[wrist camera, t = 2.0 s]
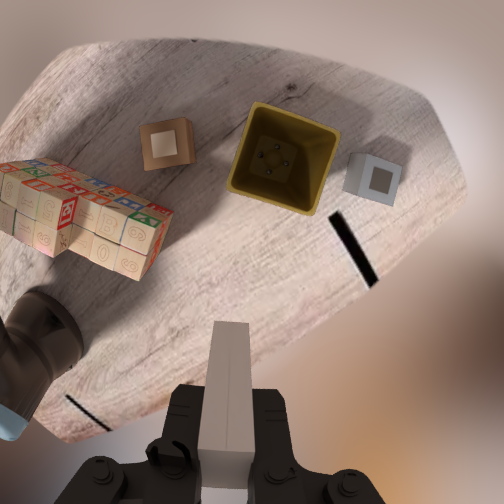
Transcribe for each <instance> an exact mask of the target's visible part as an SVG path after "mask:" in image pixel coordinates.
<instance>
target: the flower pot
mask: <svg viewBox="0 0 504 504" xmlns="http://www.w3.org/2000/svg"><path fill="white" fill-rule="evenodd" d="M340 138H341V133H340V132H339V131H338V130H336V129H333V128H331V127H328V126H326V125H323V124H321V123H318V122H316V121H313V120H310V119H308V118H305V117H302V116H300V115H297V114H294V113H292V112H289V111H286V110H283V109H280V108H278V107H275V106H272V105H269V104H266V103H262V102H258V101H256V102H254V103H253V104H252V106H251V109H250V112H249V115H248V119H247V122H246V125H245V128H244V131H243V134H242V137H241V140H240V143H239V145H238V149H237V152H236V155H235V158H234V161H233V164H232V166H231V169H230V172H229V175H228V179H227V182H226V189H227V190H228V191H230V192H233V193H236V194H239V195H243V196H246V197H250V198H253V199H257V200H260V201H263V202H266V203H270V204H273V205H276V206H279V207H282V208H285V209H288V210H291V211H294V212H297V213H300V214H303V215H306V216H313V215H314V214H315V212H316V209H317V206H318V203H319V200H320V196H321V193H322V190H323V187H324V184H325V181H326V178H327V175H328V172H329V169H330V167H331V164H332V161H333V159H334V156H335V153H336V150H337V147H338V145H339V142H340ZM277 144H278V145H279V146H280V148H279V149H276V148H275V146H276V145H277ZM259 153H262V154H263V156H262V157H259V156H258V154H259ZM285 161H287V162H288V165H287V166H285V165H284V162H285ZM269 169H270V170H271V174H268V173H267V170H269Z"/></svg>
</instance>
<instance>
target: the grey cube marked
mask: <svg viewBox="0 0 504 504" xmlns="http://www.w3.org/2000/svg"><path fill="white" fill-rule="evenodd" d="M402 168H403V167H402V166H400V165H397V164H395V163H392V162H389V161H387V160H384V159H381V158H379V157H376V156H373V155H370V154H367V153H351V155H350V160H349V164H348V168H347V173H346V177H345V181H344V185H343V189H342V190H343V191H345V192H348V193H351V194H353V195H356V196H359V197H362V198H366V199H369V200H373V201H376V202H379V203H382V204H386V205H389V206H392V207H393V204H394V200H395V197H396V193H397V189H398V185H399V180H400V176H401V172H402Z"/></svg>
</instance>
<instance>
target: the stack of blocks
mask: <svg viewBox="0 0 504 504" xmlns="http://www.w3.org/2000/svg"><path fill="white" fill-rule="evenodd" d="M173 214H174V212H173V211H171V210H168V209H166V208H163V207H161V206H159V205H156V204H153V203H152V202H151V201H148V200H146V199H144V198H141V197H139V196H136V195H134V194H131V193H129V192H127V191H125V190H122V189H120V188H118V187H115V186H111V185H109V184H106V183H104V182H102V181H99V180H97V179H94V178H92V177H89V176H87V175H85V174H82V173H80V172H77V171H76V170H74V169H72V168H69V167H67V166H64V165H62V164H60V163H58V162H55V161H53V160H51V159H48V158H40V159H34V160H25V161H13V162H7V163H2V164H0V230H2V231H4V232H5V233H7V234H9V235H11V236H14V238H16V239H17V240H19V241H21V242H23V243H25V244H27V245H28V246H31V247H33V248H35V249H37V250H39V251H41V252H42V253H44V254H46V255H48V256H50V257H52V258H54V257H55V256H57V255H58V254H60V253H62V252H63V251H65V250H66V249H69V250H71V251H73V252H75V253H77V254H79V255H81V256H84V257H86V258H88V259H89V260H90V261H92V262H95V263H97V264H99V265H101V266H103V267H105V268H107V269H110V270H112V271H116V272H118V273H120V274H122V275H125V276H127V277H129V278H131V279H134V280H136V281H140V279H141V278H142V277H143V275H144V274H145V272H146V271H147V270H148V269H149V268H150V266H151V265H152V263H153V262H154V260H155V259H156V257H157V256H158V254H159V252H160V249H161V247H162V244H163V241H164V238H165V235H166V233H167V230H168V228H169V225H170V223H171V220H172V217H173Z"/></svg>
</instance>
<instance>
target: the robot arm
mask: <svg viewBox="0 0 504 504" xmlns="http://www.w3.org/2000/svg"><path fill="white" fill-rule="evenodd" d="M82 353H83V340H82V336H81V333H80V330H79V328H78V326H77V324H76V322H75V321H74V319H73V318H72V316H71V315H70V314H69V313H68V311H67V310H66V309H65V308H64V307H63V306H62V305H61V304H60V303H59V302H57V301H56V300H55V299H53V298H52V297H50V296H48V295H46V294H44V293H40V292H28V293H25V294H24V295H23V296H21V297H20V298H19V299H18V300H17V301H16V302H15V303H14V305H13V307H12V309H11V313H10V315H9V316H8V318H7V321H6V323H5V325H4V323H3V321H2V319H1V316H0V438H2V439H4V440H9V441H14V440H16V439H17V438H19V436H20V435H21V433H22V432H23V430H24V429H25V427H27V426H28V424H29V421H30V419H31V418H32V416H33V414H34V412H35V410H36V409H37V407H38V405H39V403H40V402H41V400H42V398H43V397H44V395H45V393H46V392H47V390H48V388H49V387H50V385H51V383H52V382H53V381H54V380H55V379H57V378H58V377H60V376H61V375H63V374H64V373H65V372H67V371H69V370H71V369H72V368H73V367H74V366H75V365H76V364H77V362H78V361H79V359H80V358H81V356H82ZM145 452H146V454H147V457H148V460H146V461H144V462H140V463H129V464H119V463H117V462H116V461H115V460H113V459H112V458H109V457H105V456H95V457H92V458H89V459H88V460H87V461H85V462H84V463H83V464H82V466H81V467H80V469H79V470H78V471H77V473H76V474H75V475H74V477H73V478H72V479H71V481H70V482H69V483H68V485H67V486H66V488H65V489H64V490H63V492H62V493H61V494H60V496H59V497H58V499H57V500H56V501H55V502H54V504H201V487H212V488H228V489H247V488H248V501H247V504H385V502H384V501H383V499H382V498H381V496H380V495H379V493H378V492H377V490H376V489H375V487H374V486H373V484H372V483H371V481H370V480H369V478H368V477H367V476H366V475H365V474H364V473H362V472H360V471H358V470H353V469H346V470H341V471H339V472H337V473H335V474H333V475H328V474H322V473H316V472H312V471H309V470H307V469H304V468H303V467H302V466H300V465H299V464H298V463H297V461H296V460H295V458H294V455H293V450H292V444H291V437H290V431H289V425H288V421H287V413H286V407H285V401H284V398H283V397H282V395H281V394H280V393H279V391H278V390H277V389H252V380H251V358H250V337H249V323H240V322H225V321H214V326H213V333H212V340H211V347H210V354H209V361H208V369H207V376H206V384H205V386H194V385H185V384H179V385H178V387H177V388H176V389H175V390H174V391H173V392H172V395H171V399H170V403H169V407H168V411H167V415H166V420H165V424H164V428H163V433H162V437H161V438H158V439H155V440H154V441H153V442H151V443H150V444H149V445H148V447H147V449H146V451H145Z"/></svg>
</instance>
